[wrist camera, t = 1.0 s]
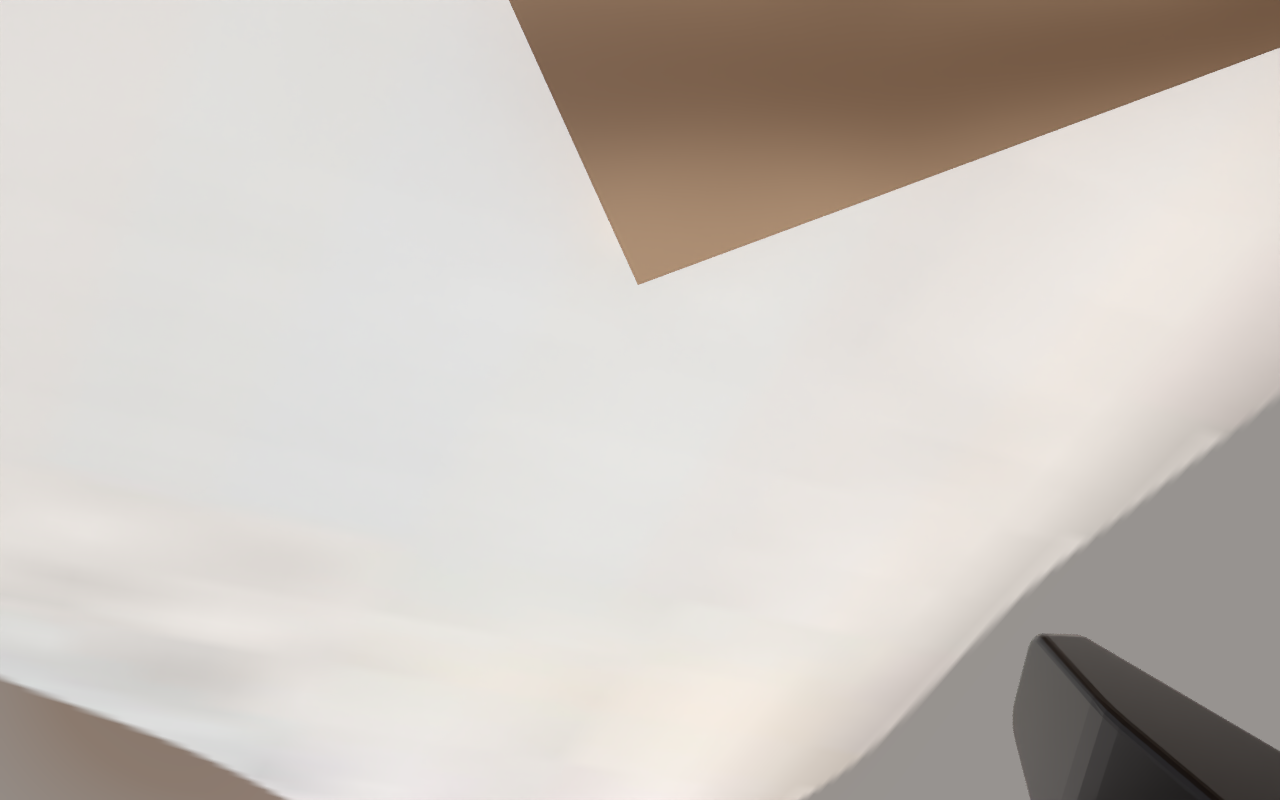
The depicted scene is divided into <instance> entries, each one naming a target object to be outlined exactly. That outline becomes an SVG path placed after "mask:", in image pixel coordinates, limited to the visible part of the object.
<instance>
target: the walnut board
mask: <svg viewBox="0 0 1280 800" xmlns="http://www.w3.org/2000/svg"><path fill="white" fill-rule="evenodd" d="M509 1H510V3H511V6H512V8H513V10H514V12H515V14H516V17H517V19H518V21H519V23H520V25H521V28H522V30H523V32H524V34H525V36H526V39H527V41H528V43H529V45H530V47H531V50H532V52H533V54H534V56H535V59H536V61H537V63H538V65H539V67H540V70H541V72H542V74H543V76H544V78H545V81H546V83H547V85H548V87H549V89H550V92H551V94H552V96H553V98H554V100H555V103H556V105H557V107H558V109H559V112H560V114H561V116H562V118H563V120H564V123H565V125H566V127H567V129H568V131H569V134H570V136H571V138H572V140H573V142H574V145H575V147H576V149H577V151H578V153H579V156H580V158H581V160H582V162H583V164H584V167H585V169H586V171H587V173H588V176H589V178H590V180H591V182H592V184H593V187H594V189H595V191H596V193H597V195H598V198H599V200H600V202H601V204H602V206H603V209H604V211H605V213H606V215H607V217H608V220H609V222H610V224H611V226H612V228H613V231H614V233H615V235H616V237H617V240H618V242H619V244H620V246H621V248H622V251H623V253H624V255H625V257H626V259H627V262H628V264H629V266H630V268H631V270H632V273H633V275H634V277H635V279H636V281H637V284H638V285H639V284H642V283H644V282H647V281H650V280H652V279H655V278H658V277H661V276H663V275H666V274H669V273H671V272H674V271H677V270H679V269H682V268H685V267H688V266H690V265H693V264H696V263H698V262H701V261H704V260H707V259H709V258H712V257H715V256H717V255H720V254H723V253H725V252H728V251H731V250H734V249H736V248H739V247H742V246H744V245H747V244H750V243H752V242H755V241H758V240H761V239H763V238H766V237H769V236H771V235H774V234H777V233H780V232H782V231H785V230H788V229H790V228H793V227H796V226H798V225H801V224H804V223H807V222H809V221H812V220H815V219H817V218H820V217H823V216H825V215H828V214H831V213H834V212H836V211H839V210H842V209H844V208H847V207H850V206H853V205H855V204H858V203H861V202H863V201H866V200H869V199H871V198H874V197H877V196H880V195H882V194H885V193H888V192H890V191H893V190H896V189H898V188H901V187H904V186H907V185H909V184H912V183H915V182H917V181H920V180H923V179H926V178H928V177H931V176H934V175H936V174H939V173H942V172H944V171H947V170H950V169H953V168H955V167H958V166H961V165H963V164H966V163H969V162H972V161H974V160H977V159H980V158H982V157H985V156H988V155H990V154H993V153H996V152H999V151H1001V150H1004V149H1007V148H1009V147H1012V146H1015V145H1017V144H1020V143H1023V142H1026V141H1028V140H1031V139H1034V138H1036V137H1039V136H1042V135H1045V134H1047V133H1050V132H1053V131H1055V130H1058V129H1061V128H1063V127H1066V126H1069V125H1072V124H1074V123H1077V122H1080V121H1082V120H1085V119H1088V118H1090V117H1093V116H1096V115H1099V114H1101V113H1104V112H1107V111H1109V110H1112V109H1115V108H1118V107H1120V106H1123V105H1126V104H1128V103H1131V102H1134V101H1136V100H1139V99H1142V98H1145V97H1147V96H1150V95H1153V94H1155V93H1158V92H1161V91H1163V90H1166V89H1169V88H1172V87H1174V86H1177V85H1180V84H1182V83H1185V82H1188V81H1191V80H1193V79H1196V78H1199V77H1201V76H1204V75H1207V74H1209V73H1212V72H1215V71H1218V70H1220V69H1223V68H1226V67H1228V66H1231V65H1234V64H1237V63H1239V62H1242V61H1245V60H1247V59H1250V58H1253V57H1255V56H1258V55H1261V54H1264V53H1266V52H1269V51H1272V50H1274V49H1277V48H1280V0H509Z"/></svg>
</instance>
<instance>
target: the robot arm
mask: <svg viewBox="0 0 1280 800" xmlns="http://www.w3.org/2000/svg"><path fill="white" fill-rule="evenodd" d="M1013 731H1014V737H1015V742H1016V745H1017V749H1018V753H1019V757H1020V761H1021V765H1022V769H1023V773H1024V777H1025V781H1026V785H1027V789H1028V792H1029V796H1030V800H1280V751H1278V750H1277V749H1275V748H1273V747H1272V746H1270V745H1268V744H1266V743H1265V742H1263V741H1261V740H1260V739H1258V738H1256V737H1255V736H1253V735H1251V734H1250V733H1248V732H1246V731H1244V730H1243V729H1241V728H1239V727H1238V726H1236V725H1234V724H1233V723H1231V722H1229V721H1227V720H1226V719H1224V718H1222V717H1220V716H1219V715H1217V714H1215V713H1214V712H1212V711H1210V710H1209V709H1207V708H1205V707H1204V706H1202V705H1200V704H1198V703H1197V702H1195V701H1193V700H1192V699H1190V698H1188V697H1187V696H1185V695H1183V694H1181V693H1180V692H1178V691H1176V690H1174V689H1173V688H1171V687H1169V686H1168V685H1166V684H1164V683H1163V682H1161V681H1159V680H1158V679H1156V678H1154V677H1153V676H1151V675H1149V674H1147V673H1146V672H1144V671H1142V670H1141V669H1139V668H1137V667H1136V666H1134V665H1132V664H1130V663H1129V662H1127V661H1125V660H1124V659H1122V658H1120V657H1118V656H1117V655H1115V654H1113V653H1112V652H1110V651H1108V650H1107V649H1105V648H1103V647H1101V646H1100V645H1098V644H1096V643H1094V642H1093V641H1091V640H1090V639H1088V638H1086V637H1083V636H1081V635H1074V634H1046V633H1042V634H1038V635H1037V636H1036V637H1034V638H1033V639H1032V641H1031V643H1030V645H1029V647H1028V651H1027V655H1026V659H1025V662H1024V666H1023V670H1022V674H1021V678H1020V682H1019V686H1018V689H1017V693H1016V697H1015V701H1014V706H1013Z"/></svg>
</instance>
